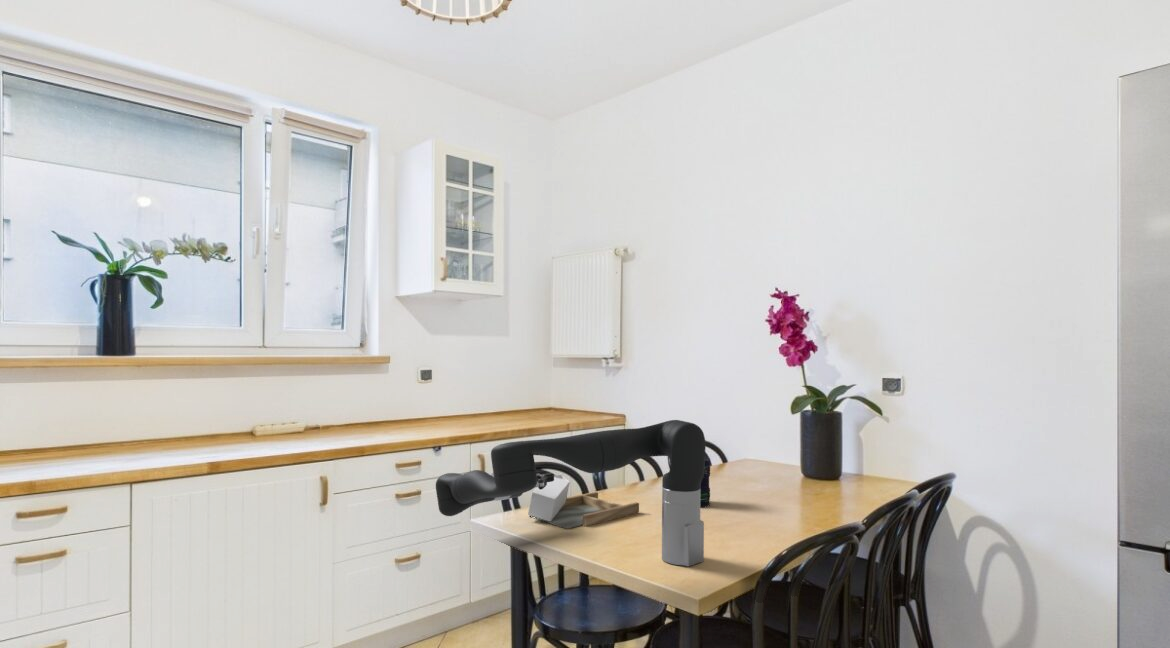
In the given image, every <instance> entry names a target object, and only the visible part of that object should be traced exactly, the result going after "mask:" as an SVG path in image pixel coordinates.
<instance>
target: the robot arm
mask: <svg viewBox="0 0 1170 648" xmlns="http://www.w3.org/2000/svg"><path fill="white" fill-rule="evenodd" d="M534 456H539V457H540V456H542V457H547V458H552V459H554V460H558V461H561V463H564V464H566V465H569V466H571V467H572V468H574V469H576V470H579V471H582V472H584V473H587V474H597V473H603V472H610V471H615V470H618V469H621V468H623V467H626V466H628V465H630V464H632V463H634V462H635V461H638V460H640V459H644V458H645V459H646V458H651V457H670V470H669V471H668V472H666V473H664V474H663V475H662V479H661V480H662V481H661V483H662V486H661V487H662V488H661V490H662V491H661V496H662V497H661V560H662V561H664V562H665V563H668V564H671V565H677V566H684V567H691V566H694V565H697V564H700V563H702V562H704V559H705V554H704V553H705V551H704V550H705V548H704V547H705V546H704V545H705V544H704V543H705V541H704V540H705V537H704V536H705V532H704V531H705V522H704V520H701V508H700V492H701V481H702V478H703V476H704V467H705V457H706V438H705V433H704V432H703V430H702V428H701V427H700V426H699V425H698V424H695V423H693V422H689V421H684V420H680V419H671V420H666V421H663V422H659V423H656V424H652V425H649V426H644V427H639V428H618V429H609V430H608V429H607V430H600V431H599V430H598V431H594V432H587V433H582V434H575V435H571V436H565V437H558V438H557V437H556V438H547V439H543V438H542V439H533V440H531V439H530V440H520V441H519V440H518V441H509V442H505V443H500V444H497V445H495V446H494V447H492V449H491V450H490V459H491V465H492V467H491V468H492V473H490V474H489V473H488V472H486V471H484V470H479V469H474V470H470V471H468V472H465V473H463V474H461V473H457V472H447V473H444V474H441V475H440V476H439V477H438V478H437V479H436V481H435V491H436V492H435V493H436V497H437V505H438V506H437V507H438V510H439V513H440V514H441V515H443V516H445V517H454V516H457V515H458V514H461V513H463V512H464V511H465V510H467V509H469V508H472V507H474V506H476V505H478V504H483V503H488V502H495V501H496V502H498V501H503V500H510V499H513V498H519V497H521V496H522V495H523V494H524V493H528V492H529V491H532V490H533V489H536V488H537V487H538V488H539V489H543V488H544V487H545V486H546V485H547V482H552V481H554V475H555V474H554V473H552V472H548V473H542V474H541V473H537V470H536V469H537V467H536V464H535V462H536V461H535V457H534Z"/></svg>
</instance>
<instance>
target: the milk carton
mask: <svg viewBox="0 0 1170 648" xmlns="http://www.w3.org/2000/svg"><path fill="white" fill-rule="evenodd" d="M570 483H571V481H570V480H568V479H567V478H566V477H565V476H564V473H562V474H554V481H552V482H547V485H546V486H545V487H544V488H543V489H539V488H538V487H536V488H534V490H533V491H532V494H531V497H530V503H529V508H528V515H529V516H530V515H531V516H534V517H537V518H540V519H543V520H546V521H550V522H551V521H552V519H553V518H554V517H555V515H556V514H557V513H558V512H559V510H560V509H561V508H562V506H563V505H564V504H565V503H566V498H568V497H567V496H568V494H569V493H568V492H569V487H570Z"/></svg>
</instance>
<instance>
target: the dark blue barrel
mask: <svg viewBox="0 0 1170 648" xmlns="http://www.w3.org/2000/svg"><path fill="white" fill-rule="evenodd" d="M710 462H711V458H709V457H707V456H705V467H704V476H703V478H702V481H701V492H700V507H702V508H704V507H703V506H708V505H709V506H711V505H710V504H711V502H710V500H711V499H710V498H711V488H710V476H711V463H710ZM709 506H708V507H709Z"/></svg>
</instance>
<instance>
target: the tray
mask: <svg viewBox="0 0 1170 648" xmlns="http://www.w3.org/2000/svg"><path fill="white" fill-rule="evenodd" d="M638 512H639V513H640V503H639V502H636V501H635V502H632V503H627V504H624V505H623V504H619V503H615V502H611V501H608V500H605V499H600V498H599V492H597V491H593V492H589V493H584V494H579V495H575V496H569V497H567V498H566V503H565V504H564V505H563V506H562V508H561V509H560V510H559V512H558V513H557V514H556V515H555V517H554V518H553V519H552V521H551V522H550V521H546V520H543V519H540V518H538V519H540V520H539V521H541V520H543V521H542V522H544V521H546V522H549V523H551V524H550V525H552V524H554V525H553V526H555V525H557V526H556V527H558V526H559V527H558V528H561V527H562V528H561V529H564V528H565V529H564V530H570V528H571V529H574V528H573V527H575V528H578V527H577V526H579V527H581V526H580V525H584V526H583V527H588V526H587V525H589V526H593V525H596V524H595V523H597V524H600V523H599V522H601V523H604V522H603V521H605V522H608V521H607V520H609V521H611V520H610V519H613V520H616V519H615V518H617V519H619V518H618V517H621V518H623V517H622V516H625V517H627V516H626V515H629V516H631V515H630V514H633V515H635V514H634V513H636V514H639V513H638ZM530 516H531V515H529V517H530ZM532 517H534V516H532ZM532 517H531V518H532ZM535 518H537V517H535ZM535 518H534V519H535ZM538 519H537V520H538ZM546 522H545V523H546ZM549 523H548V524H549ZM592 524H593V525H592Z"/></svg>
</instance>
